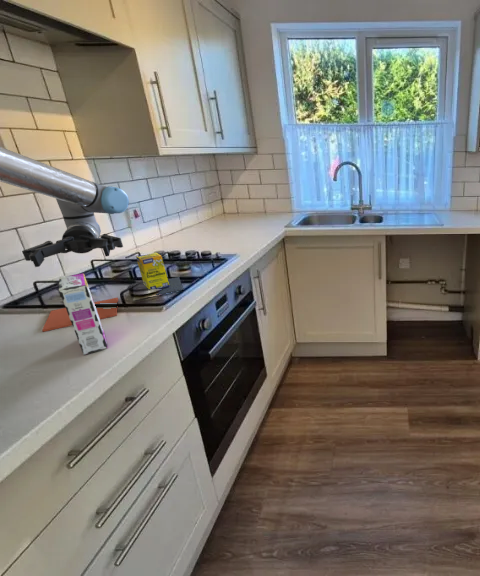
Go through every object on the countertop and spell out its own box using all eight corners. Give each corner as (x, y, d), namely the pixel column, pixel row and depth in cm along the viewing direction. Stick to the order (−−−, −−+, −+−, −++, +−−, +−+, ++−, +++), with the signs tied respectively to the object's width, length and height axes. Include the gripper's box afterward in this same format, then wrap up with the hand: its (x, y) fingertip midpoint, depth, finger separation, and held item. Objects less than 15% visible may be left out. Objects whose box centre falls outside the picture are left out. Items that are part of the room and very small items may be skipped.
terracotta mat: (42, 332, 94) (41, 330, 94) (51, 312, 105) (51, 310, 105) (116, 315, 102) (116, 313, 102) (118, 299, 113) (117, 297, 113)
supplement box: (150, 292, 116) (140, 259, 112) (144, 287, 120) (135, 256, 115) (170, 286, 120) (161, 255, 116) (164, 282, 124) (155, 252, 119)
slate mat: (133, 301, 111) (132, 299, 111) (133, 287, 122) (132, 285, 122) (183, 290, 118) (183, 289, 118) (179, 278, 129) (178, 276, 129)
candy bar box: (109, 348, 86) (86, 284, 79) (83, 356, 83) (57, 290, 77) (105, 331, 94) (84, 271, 87) (81, 337, 91) (57, 276, 84)
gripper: (135, 243, 112) (136, 260, 96) (29, 258, 100) (9, 281, 83) (128, 219, 109) (127, 233, 93) (18, 231, 97) (-6, 250, 81)
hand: (71, 256), depth 88 cm, fingers open, 13 cm apart
